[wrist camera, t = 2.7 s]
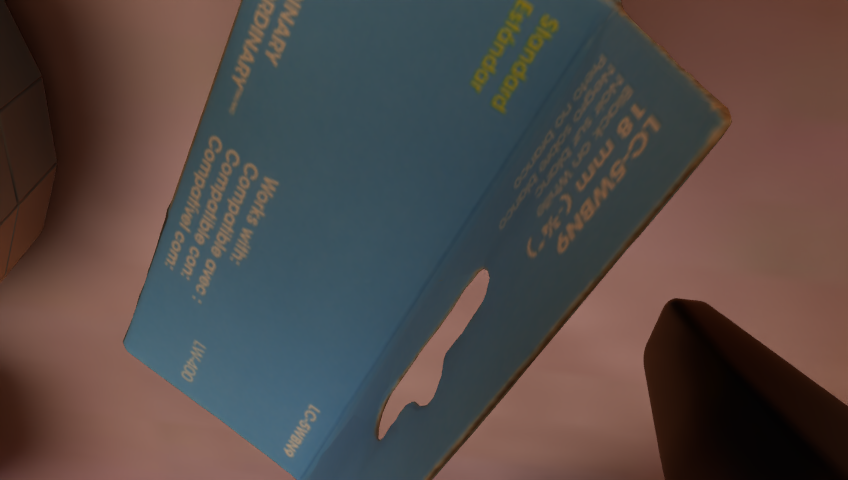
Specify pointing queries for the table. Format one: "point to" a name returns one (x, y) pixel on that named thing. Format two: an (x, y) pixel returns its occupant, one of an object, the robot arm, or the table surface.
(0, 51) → the bowl
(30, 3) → the table surface
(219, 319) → the blue retail package
